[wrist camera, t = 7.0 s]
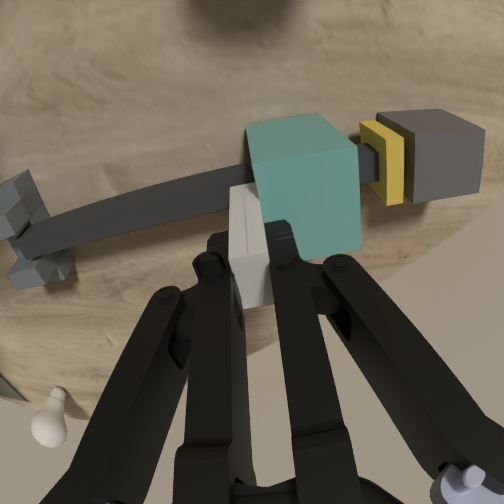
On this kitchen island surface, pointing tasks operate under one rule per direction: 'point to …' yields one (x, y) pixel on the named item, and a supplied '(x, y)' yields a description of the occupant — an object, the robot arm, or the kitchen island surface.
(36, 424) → the lightbulb
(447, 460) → the robot arm
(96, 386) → the kitchen island surface
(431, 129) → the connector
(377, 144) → the dark grey long bar
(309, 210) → the sleeve
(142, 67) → the kitchen island surface
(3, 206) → the grey stepped brick
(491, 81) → the kitchen island surface
